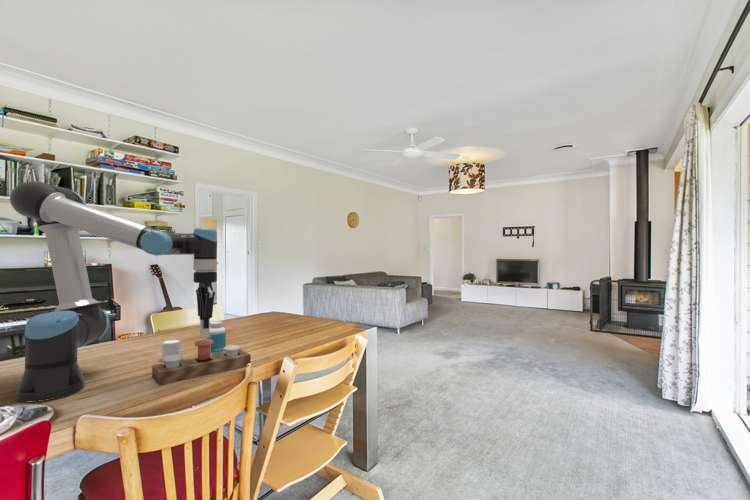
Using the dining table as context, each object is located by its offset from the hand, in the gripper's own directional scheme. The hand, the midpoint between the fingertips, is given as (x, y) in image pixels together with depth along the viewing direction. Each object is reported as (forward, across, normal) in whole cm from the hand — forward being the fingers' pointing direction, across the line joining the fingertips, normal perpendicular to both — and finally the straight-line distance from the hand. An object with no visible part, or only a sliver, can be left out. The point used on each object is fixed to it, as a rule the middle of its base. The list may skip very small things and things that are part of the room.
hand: (204, 337), depth 126 cm
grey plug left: (+11, 0, +10) cm, 15 cm away
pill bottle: (+12, +17, -10) cm, 23 cm away
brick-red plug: (+8, 0, 0) cm, 8 cm away
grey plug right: (+11, 0, -10) cm, 15 cm away
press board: (+12, 0, 0) cm, 12 cm away
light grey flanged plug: (+12, +23, +5) cm, 27 cm away
